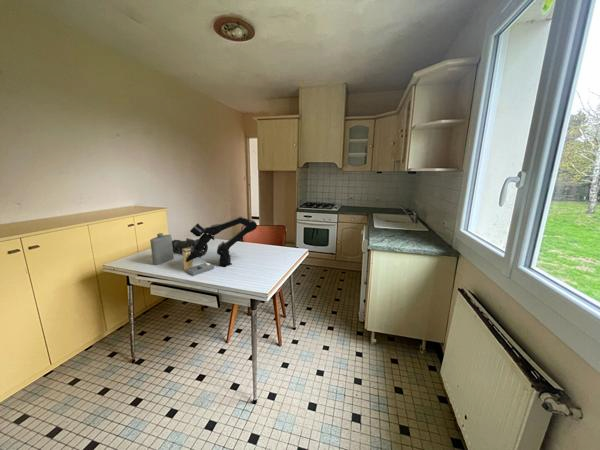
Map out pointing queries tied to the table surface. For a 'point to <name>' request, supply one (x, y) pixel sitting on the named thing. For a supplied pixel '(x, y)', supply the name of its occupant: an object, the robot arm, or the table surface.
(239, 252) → the table surface
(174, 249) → the muzzle brake
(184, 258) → the plug
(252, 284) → the table surface
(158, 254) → the flask
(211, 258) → the table surface
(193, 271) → the bar
